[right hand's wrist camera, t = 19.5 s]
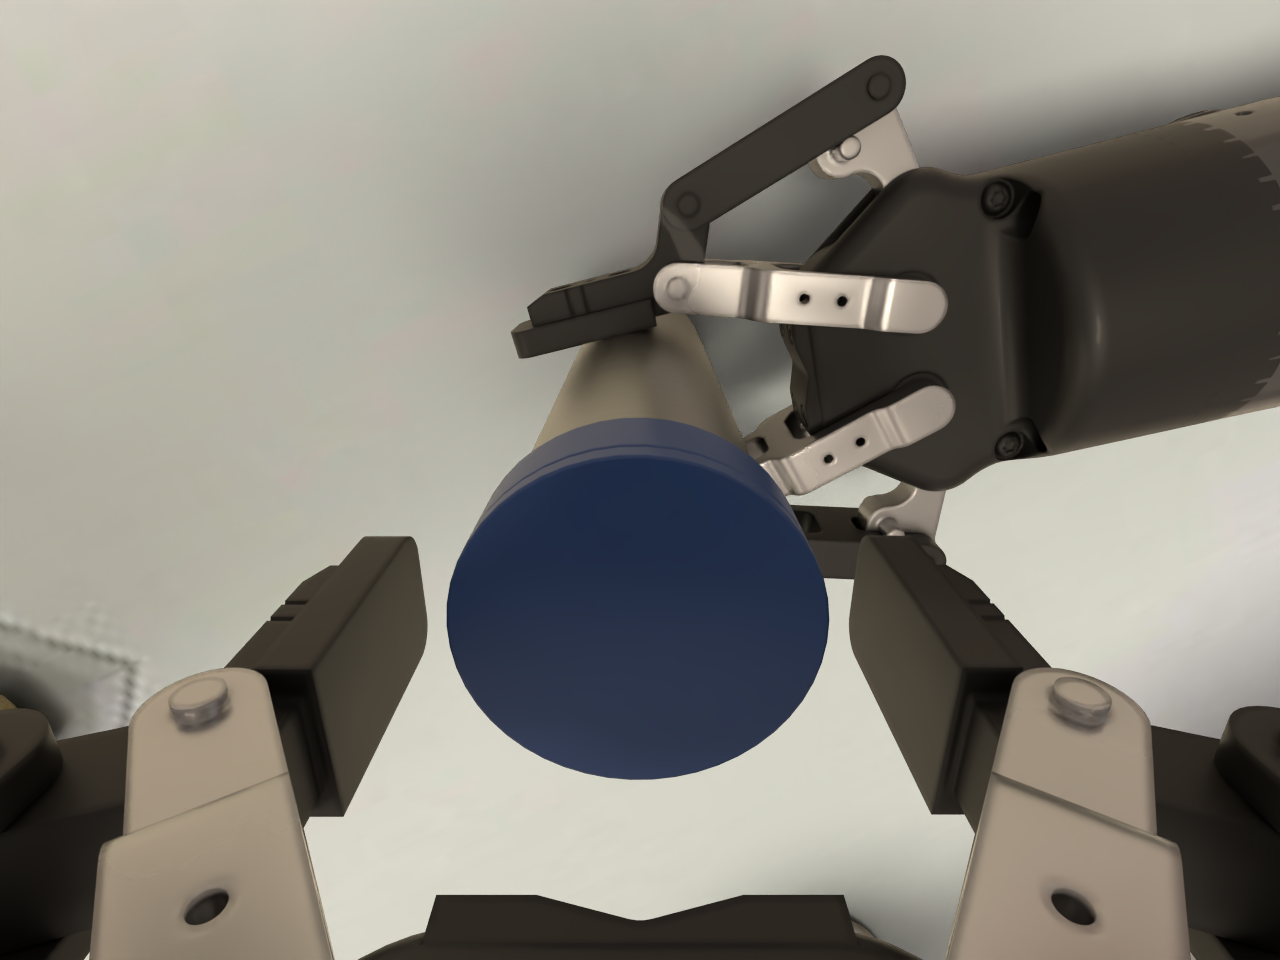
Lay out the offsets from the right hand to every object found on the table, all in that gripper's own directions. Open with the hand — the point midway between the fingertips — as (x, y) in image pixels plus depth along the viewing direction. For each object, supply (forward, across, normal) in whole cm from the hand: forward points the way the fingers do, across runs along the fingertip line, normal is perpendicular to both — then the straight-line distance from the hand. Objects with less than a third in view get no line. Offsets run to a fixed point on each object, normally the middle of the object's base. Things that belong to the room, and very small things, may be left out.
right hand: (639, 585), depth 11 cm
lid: (-2, 0, +1) cm, 2 cm away
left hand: (+8, -3, 0) cm, 9 cm away
